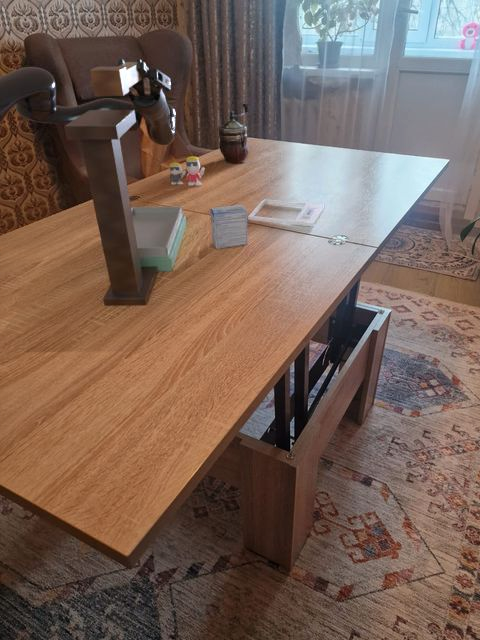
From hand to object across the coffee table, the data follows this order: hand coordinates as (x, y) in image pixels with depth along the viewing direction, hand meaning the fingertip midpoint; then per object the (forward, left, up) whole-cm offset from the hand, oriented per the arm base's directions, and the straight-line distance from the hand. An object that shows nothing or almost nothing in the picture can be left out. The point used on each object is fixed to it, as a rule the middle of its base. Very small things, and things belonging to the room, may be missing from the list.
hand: (129, 64), depth 98 cm
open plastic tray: (0, -5, -37) cm, 38 cm away
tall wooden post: (0, -26, -37) cm, 46 cm away
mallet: (0, -8, -3) cm, 9 cm away
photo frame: (+34, +16, -37) cm, 53 cm away
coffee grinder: (+18, +75, -38) cm, 85 cm away
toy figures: (+3, +45, -38) cm, 58 cm away
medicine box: (+19, -4, -38) cm, 42 cm away
